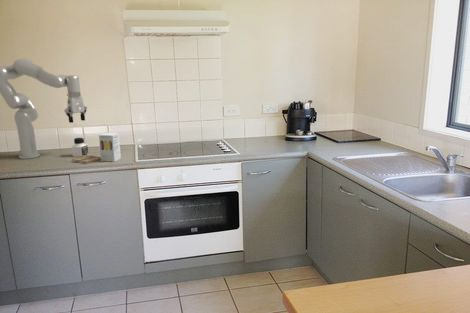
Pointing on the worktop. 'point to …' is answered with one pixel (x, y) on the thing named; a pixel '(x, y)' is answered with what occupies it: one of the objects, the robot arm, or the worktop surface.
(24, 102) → the robot arm
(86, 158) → the oak trivet
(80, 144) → the medicine bottle
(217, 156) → the worktop surface
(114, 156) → the supplement box
